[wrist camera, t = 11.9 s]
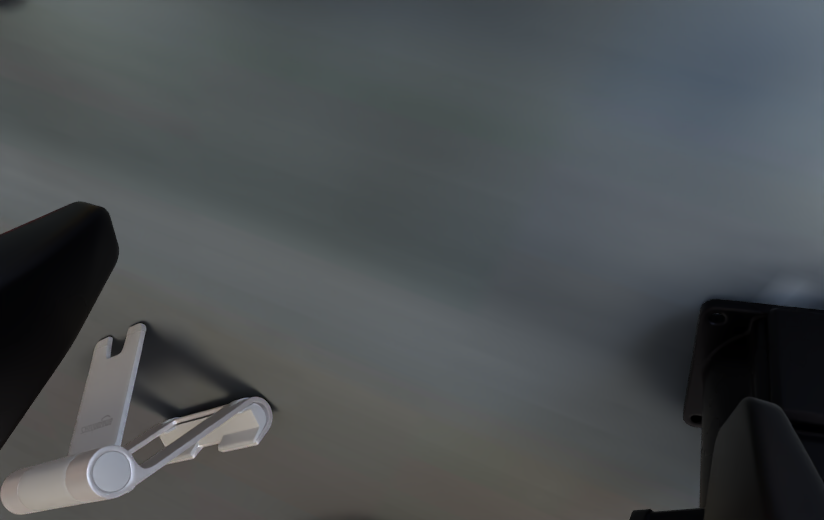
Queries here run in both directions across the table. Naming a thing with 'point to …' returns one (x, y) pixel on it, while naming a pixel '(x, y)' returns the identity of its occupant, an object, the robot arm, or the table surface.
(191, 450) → the tablet stand
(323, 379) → the table surface
